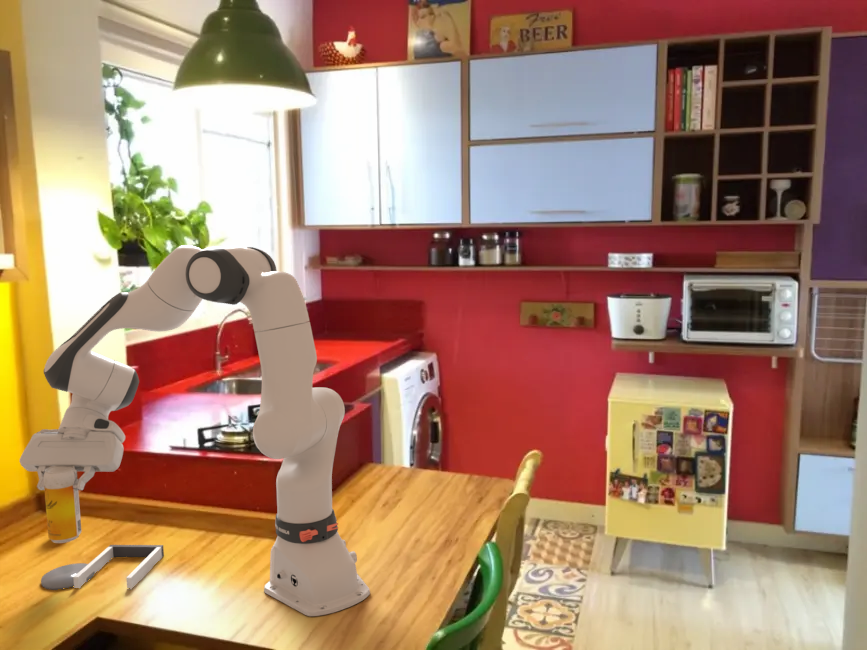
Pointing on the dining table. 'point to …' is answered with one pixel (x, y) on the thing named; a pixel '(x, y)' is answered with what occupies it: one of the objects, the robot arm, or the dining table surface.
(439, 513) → the dining table surface
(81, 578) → the channel
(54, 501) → the beer can
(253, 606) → the dining table surface
